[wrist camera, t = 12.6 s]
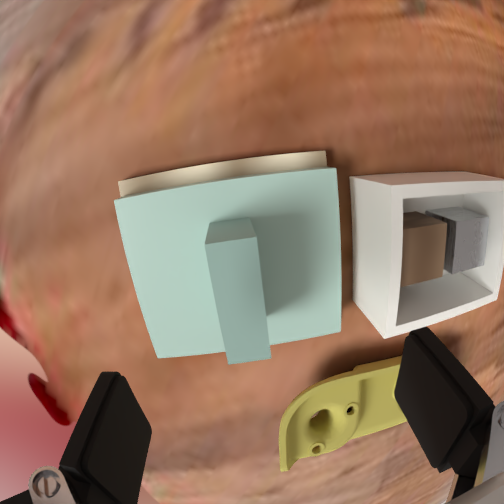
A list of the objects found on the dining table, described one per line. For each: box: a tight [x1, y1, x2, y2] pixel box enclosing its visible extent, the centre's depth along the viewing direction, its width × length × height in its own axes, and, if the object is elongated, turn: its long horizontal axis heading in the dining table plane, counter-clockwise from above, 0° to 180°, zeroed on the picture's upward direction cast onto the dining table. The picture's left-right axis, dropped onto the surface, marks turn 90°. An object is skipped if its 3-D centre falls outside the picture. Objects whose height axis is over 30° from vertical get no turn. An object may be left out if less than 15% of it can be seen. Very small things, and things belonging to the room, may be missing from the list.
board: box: [118, 151, 327, 197], centre depth 21 cm, size 14×14×1 cm
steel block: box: [425, 207, 489, 274], centre depth 20 cm, size 4×4×4 cm
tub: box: [349, 171, 504, 339], centre depth 19 cm, size 12×10×6 cm
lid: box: [114, 167, 341, 364], centre depth 18 cm, size 14×12×6 cm
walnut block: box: [400, 211, 447, 287], centre depth 20 cm, size 4×4×4 cm
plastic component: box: [279, 356, 407, 472], centre depth 26 cm, size 20×7×10 cm
